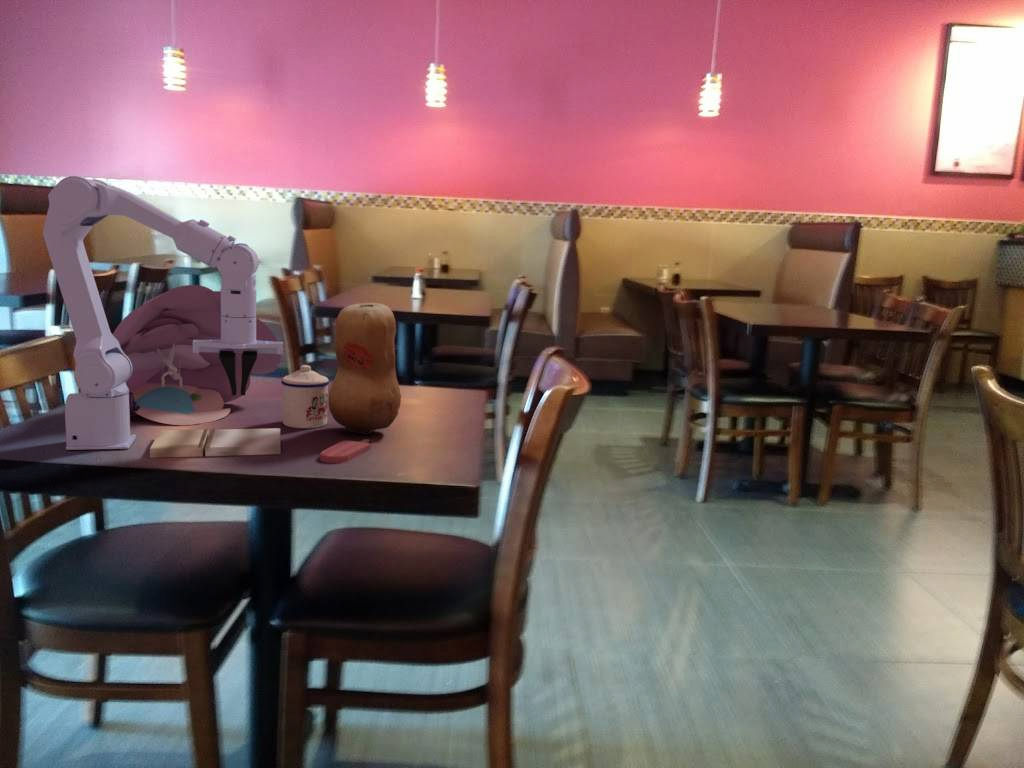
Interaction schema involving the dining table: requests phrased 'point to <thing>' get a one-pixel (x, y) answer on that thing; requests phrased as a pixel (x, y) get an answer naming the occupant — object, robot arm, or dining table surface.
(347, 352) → the butternut squash
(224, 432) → the beige flat square block
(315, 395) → the teacup with lid
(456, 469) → the dining table surface
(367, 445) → the popsicle
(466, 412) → the dining table surface
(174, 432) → the laid board
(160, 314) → the mauve lumpy shape
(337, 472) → the dining table surface
